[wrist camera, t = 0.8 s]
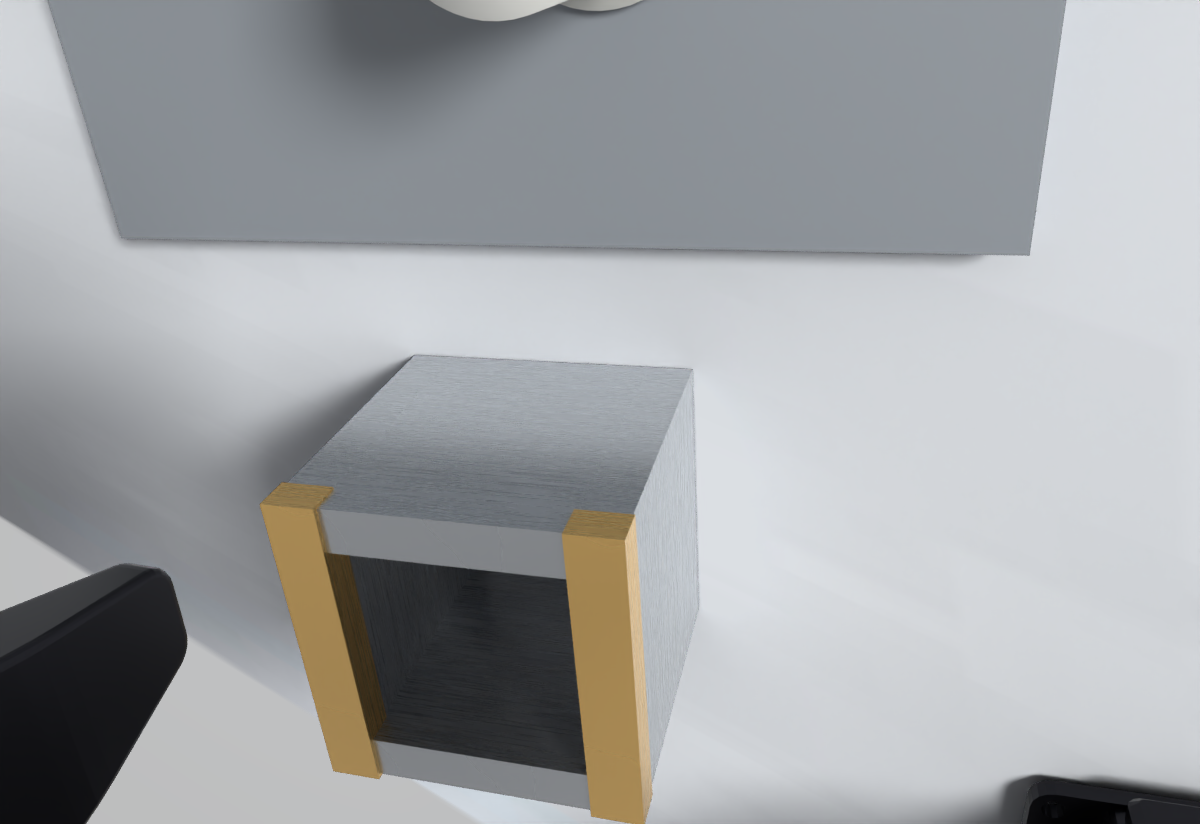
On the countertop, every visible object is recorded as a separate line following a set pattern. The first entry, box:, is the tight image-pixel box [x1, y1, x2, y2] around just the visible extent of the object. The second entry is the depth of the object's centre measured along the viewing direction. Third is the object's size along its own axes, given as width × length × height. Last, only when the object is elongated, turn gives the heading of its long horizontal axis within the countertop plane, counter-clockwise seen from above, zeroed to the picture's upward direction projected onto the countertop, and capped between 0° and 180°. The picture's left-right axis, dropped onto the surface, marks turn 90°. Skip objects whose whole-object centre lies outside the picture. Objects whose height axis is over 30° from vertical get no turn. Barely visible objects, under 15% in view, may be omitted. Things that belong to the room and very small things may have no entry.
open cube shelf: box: [260, 355, 699, 824], centre depth 20 cm, size 6×6×6 cm
